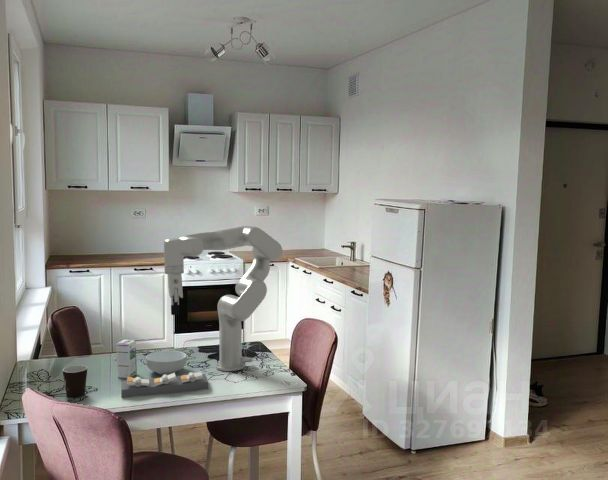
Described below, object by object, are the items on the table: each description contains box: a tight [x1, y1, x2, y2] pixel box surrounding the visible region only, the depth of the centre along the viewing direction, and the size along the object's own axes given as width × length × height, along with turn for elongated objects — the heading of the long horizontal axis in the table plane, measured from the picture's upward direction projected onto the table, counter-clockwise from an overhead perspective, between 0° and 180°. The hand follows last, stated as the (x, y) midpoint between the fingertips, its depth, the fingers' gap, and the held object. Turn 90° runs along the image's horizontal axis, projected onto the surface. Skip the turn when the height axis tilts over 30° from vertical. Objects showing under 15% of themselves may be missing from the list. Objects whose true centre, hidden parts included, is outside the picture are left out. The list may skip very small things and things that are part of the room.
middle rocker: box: [154, 372, 177, 386], centre depth 217 cm, size 8×4×2 cm, turn 108°
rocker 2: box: [180, 371, 203, 383], centre depth 220 cm, size 8×4×2 cm, turn 107°
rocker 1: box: [126, 376, 150, 387], centre depth 215 cm, size 8×4×2 cm, turn 107°
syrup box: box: [115, 339, 138, 379], centre depth 234 cm, size 6×6×14 cm
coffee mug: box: [62, 364, 88, 399], centre depth 214 cm, size 12×9×10 cm
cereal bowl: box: [145, 350, 188, 376], centre depth 240 cm, size 17×17×7 cm
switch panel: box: [120, 373, 209, 399], centre depth 220 cm, size 32×10×3 cm, turn 107°
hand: (175, 314), depth 230 cm, fingers closed
